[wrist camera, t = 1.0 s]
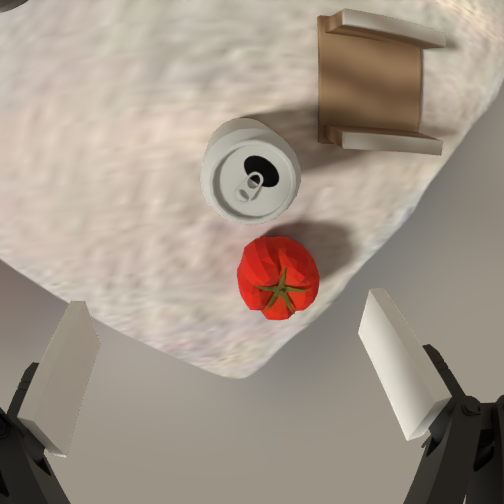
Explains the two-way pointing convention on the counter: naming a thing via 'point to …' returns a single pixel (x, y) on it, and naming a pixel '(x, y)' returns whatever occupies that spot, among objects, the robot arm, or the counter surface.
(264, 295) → the tomato
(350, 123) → the cradle holder
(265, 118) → the counter surface
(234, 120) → the can
